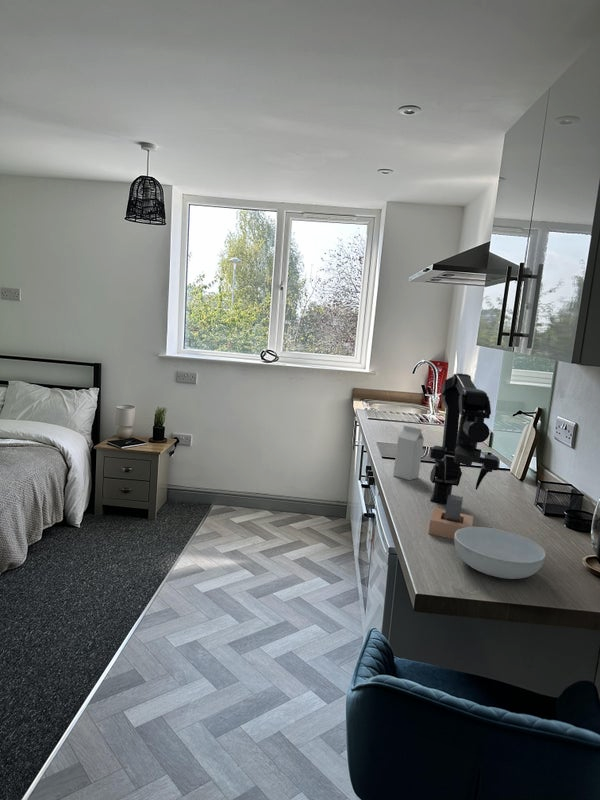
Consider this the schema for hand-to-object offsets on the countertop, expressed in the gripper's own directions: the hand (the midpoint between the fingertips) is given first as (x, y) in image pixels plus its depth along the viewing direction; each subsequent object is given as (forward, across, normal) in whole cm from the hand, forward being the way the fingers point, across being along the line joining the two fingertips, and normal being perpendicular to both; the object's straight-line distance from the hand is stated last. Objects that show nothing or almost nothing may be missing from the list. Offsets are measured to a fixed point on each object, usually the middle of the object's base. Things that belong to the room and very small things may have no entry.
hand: (459, 485), depth 160 cm
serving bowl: (+11, +12, -26) cm, 31 cm away
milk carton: (+13, -21, +40) cm, 47 cm away
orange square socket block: (+11, 0, -8) cm, 14 cm away
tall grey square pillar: (+11, 0, -8) cm, 14 cm away
